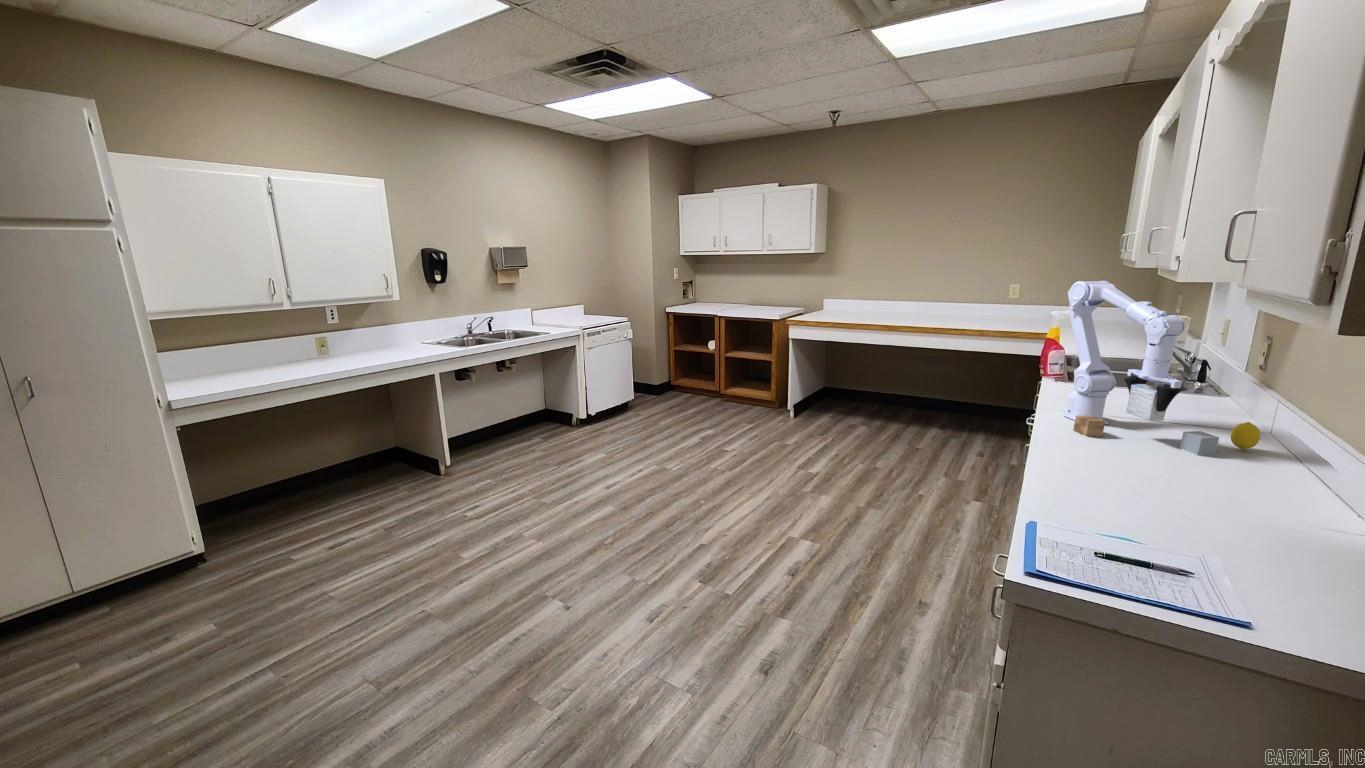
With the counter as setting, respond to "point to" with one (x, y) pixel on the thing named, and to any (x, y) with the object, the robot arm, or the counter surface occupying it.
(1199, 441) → the slate block
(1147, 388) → the medicine box
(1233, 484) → the counter surface
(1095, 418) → the walnut block
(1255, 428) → the lemon
